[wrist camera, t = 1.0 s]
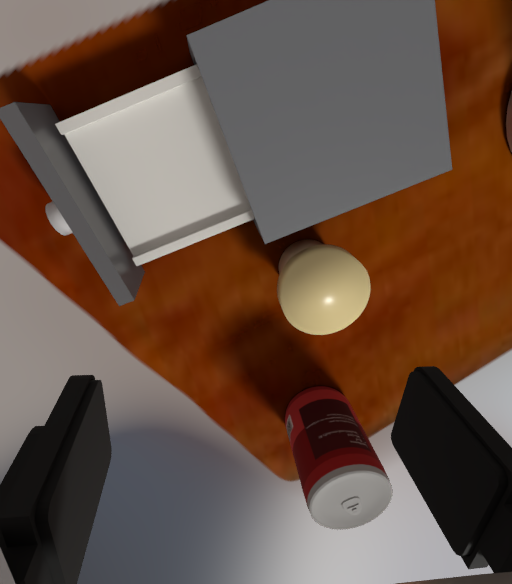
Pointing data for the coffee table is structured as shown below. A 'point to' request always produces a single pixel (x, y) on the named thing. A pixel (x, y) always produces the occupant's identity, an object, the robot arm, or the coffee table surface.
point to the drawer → (134, 174)
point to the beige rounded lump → (295, 250)
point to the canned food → (335, 460)
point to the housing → (326, 103)
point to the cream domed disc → (323, 289)
